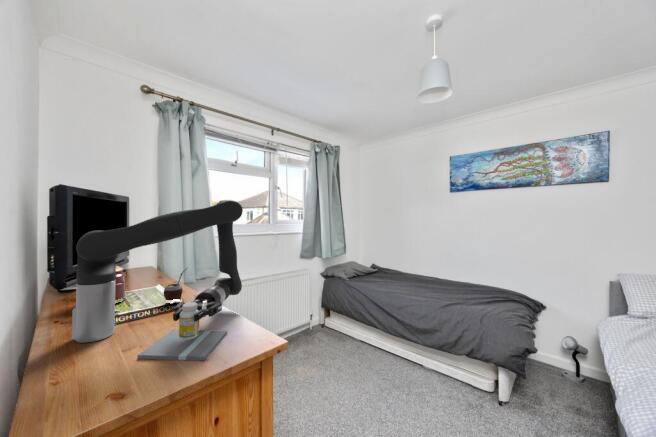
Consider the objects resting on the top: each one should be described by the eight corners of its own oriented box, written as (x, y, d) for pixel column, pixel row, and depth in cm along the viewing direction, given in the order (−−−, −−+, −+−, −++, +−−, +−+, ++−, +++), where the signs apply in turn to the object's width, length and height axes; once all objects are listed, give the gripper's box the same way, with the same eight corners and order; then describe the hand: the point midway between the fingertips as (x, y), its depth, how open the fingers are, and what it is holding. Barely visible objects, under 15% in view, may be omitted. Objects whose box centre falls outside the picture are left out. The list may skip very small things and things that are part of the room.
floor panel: (137, 358, 71) (137, 355, 71) (172, 332, 87) (172, 329, 87) (204, 360, 71) (204, 356, 71) (227, 334, 87) (227, 330, 87)
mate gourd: (159, 306, 111) (160, 270, 111) (170, 300, 119) (171, 267, 118) (177, 306, 111) (178, 271, 111) (187, 300, 119) (188, 267, 119)
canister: (122, 296, 122) (123, 258, 122) (127, 303, 113) (128, 262, 113) (84, 302, 113) (85, 261, 112) (86, 310, 103) (87, 266, 103)
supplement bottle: (188, 341, 75) (188, 308, 75) (174, 338, 77) (175, 305, 77) (203, 334, 80) (203, 302, 80) (190, 330, 82) (190, 300, 82)
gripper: (190, 288, 93) (160, 304, 76) (231, 289, 93) (209, 305, 76) (190, 309, 93) (159, 330, 76) (230, 310, 93) (209, 331, 76)
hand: (185, 317), depth 76 cm, fingers closed on supplement bottle, 5 cm apart
